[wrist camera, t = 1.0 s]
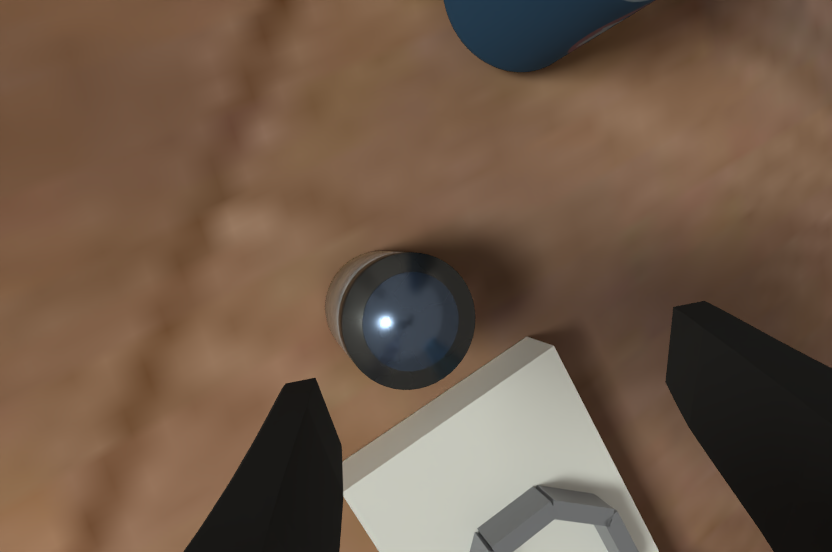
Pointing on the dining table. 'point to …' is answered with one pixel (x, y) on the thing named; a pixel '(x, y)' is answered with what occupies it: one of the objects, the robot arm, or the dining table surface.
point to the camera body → (496, 469)
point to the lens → (401, 317)
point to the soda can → (533, 28)
